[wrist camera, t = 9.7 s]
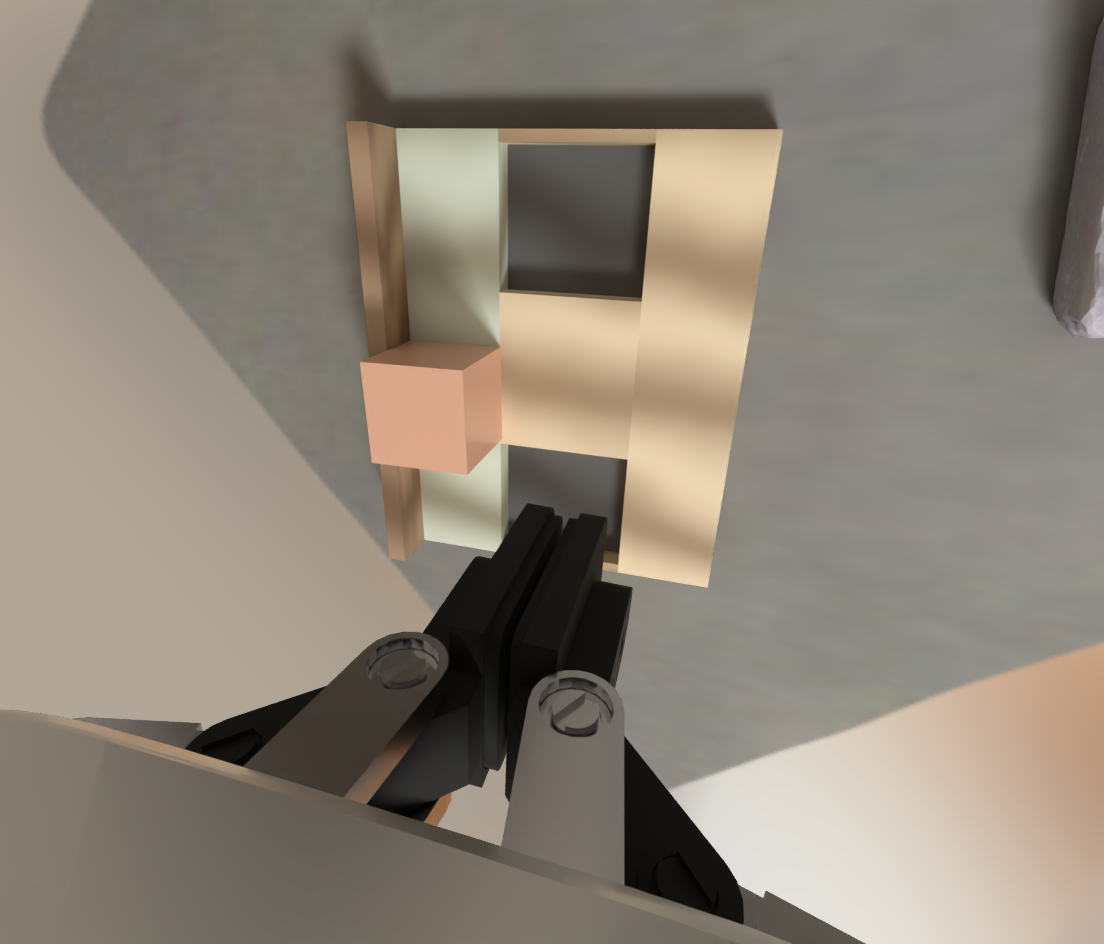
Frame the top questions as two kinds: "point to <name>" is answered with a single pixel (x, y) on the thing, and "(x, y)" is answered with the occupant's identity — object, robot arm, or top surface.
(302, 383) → the top surface
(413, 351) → the terracotta block
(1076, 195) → the stone block
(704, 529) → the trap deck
